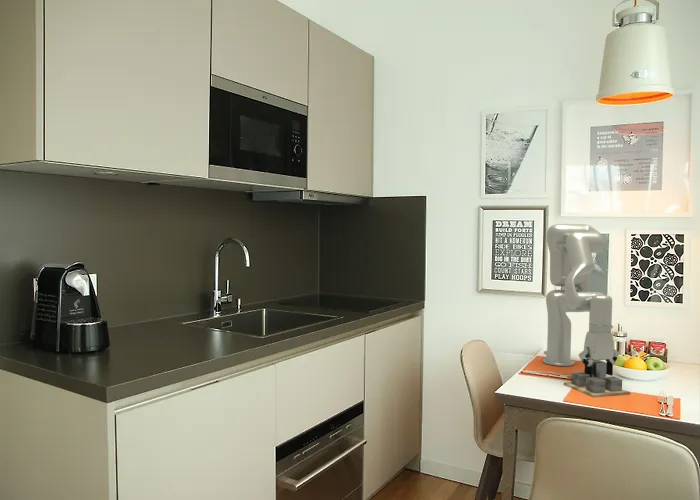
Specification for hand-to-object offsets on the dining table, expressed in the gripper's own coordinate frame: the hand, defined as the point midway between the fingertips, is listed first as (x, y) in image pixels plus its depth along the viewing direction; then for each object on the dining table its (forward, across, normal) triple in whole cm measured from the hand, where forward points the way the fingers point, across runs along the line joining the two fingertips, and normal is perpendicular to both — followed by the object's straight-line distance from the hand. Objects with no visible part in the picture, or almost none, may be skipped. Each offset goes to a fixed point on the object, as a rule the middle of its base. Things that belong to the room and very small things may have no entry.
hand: (598, 375), depth 208 cm
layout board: (+4, +4, +4) cm, 7 cm away
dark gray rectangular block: (+3, +1, 0) cm, 3 cm away
